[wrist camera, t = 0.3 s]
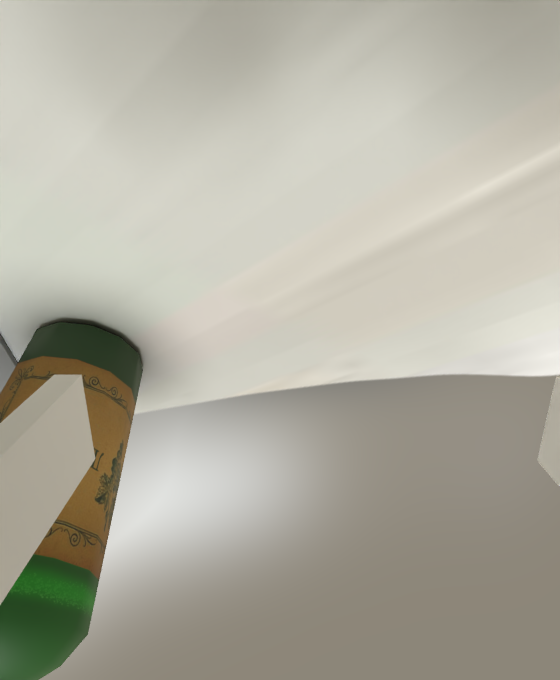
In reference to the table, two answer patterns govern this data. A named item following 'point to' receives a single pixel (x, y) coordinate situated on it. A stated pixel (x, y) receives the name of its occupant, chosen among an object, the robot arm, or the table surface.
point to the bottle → (81, 509)
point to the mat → (5, 363)
